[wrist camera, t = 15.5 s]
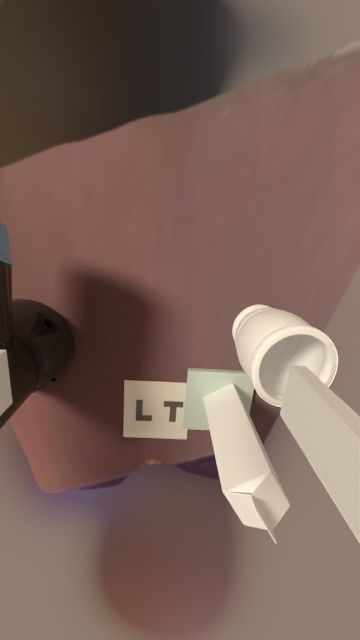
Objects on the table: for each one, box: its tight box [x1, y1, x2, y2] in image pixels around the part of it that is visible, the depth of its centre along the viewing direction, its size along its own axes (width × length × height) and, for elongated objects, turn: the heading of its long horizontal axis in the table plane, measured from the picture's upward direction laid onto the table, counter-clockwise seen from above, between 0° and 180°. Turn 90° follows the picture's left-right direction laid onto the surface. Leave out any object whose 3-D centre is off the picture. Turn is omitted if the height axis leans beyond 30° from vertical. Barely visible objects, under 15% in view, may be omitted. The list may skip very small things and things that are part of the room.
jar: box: [232, 305, 338, 407], centre depth 39 cm, size 11×10×15 cm
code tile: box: [123, 380, 187, 439], centre depth 50 cm, size 12×12×1 cm
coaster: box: [183, 368, 254, 430], centre depth 49 cm, size 12×12×1 cm
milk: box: [203, 383, 290, 544], centre depth 38 cm, size 6×6×22 cm
